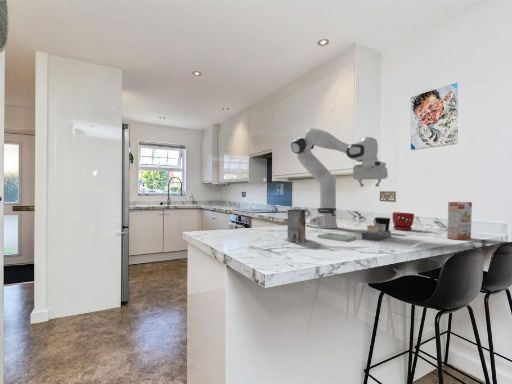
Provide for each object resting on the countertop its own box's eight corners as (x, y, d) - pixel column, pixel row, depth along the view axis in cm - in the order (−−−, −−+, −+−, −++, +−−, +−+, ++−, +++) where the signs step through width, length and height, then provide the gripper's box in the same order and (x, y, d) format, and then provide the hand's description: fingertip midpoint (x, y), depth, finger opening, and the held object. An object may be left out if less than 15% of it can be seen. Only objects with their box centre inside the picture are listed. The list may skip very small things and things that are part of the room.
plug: (367, 238, 146) (367, 225, 146) (370, 237, 149) (371, 225, 149) (375, 239, 143) (375, 226, 143) (378, 238, 146) (378, 225, 147)
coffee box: (294, 238, 147) (294, 208, 147) (305, 240, 143) (306, 209, 143) (287, 241, 139) (287, 209, 139) (298, 242, 135) (299, 210, 135)
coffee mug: (391, 235, 164) (392, 218, 164) (376, 234, 166) (376, 218, 166) (386, 232, 176) (386, 216, 176) (372, 231, 178) (372, 216, 178)
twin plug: (374, 236, 153) (374, 224, 153) (378, 235, 157) (378, 223, 157) (382, 237, 150) (382, 225, 150) (385, 236, 154) (385, 224, 154)
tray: (318, 238, 148) (318, 234, 148) (329, 236, 157) (329, 232, 157) (345, 242, 137) (345, 238, 137) (356, 239, 145) (356, 236, 145)
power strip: (361, 240, 145) (361, 231, 145) (376, 236, 160) (376, 228, 160) (377, 242, 140) (377, 233, 140) (390, 237, 154) (390, 230, 154)
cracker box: (458, 240, 149) (459, 202, 149) (446, 238, 155) (447, 201, 155) (472, 238, 156) (472, 201, 156) (460, 236, 161) (460, 201, 161)
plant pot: (409, 231, 182) (409, 213, 182) (389, 229, 192) (389, 212, 192) (416, 230, 190) (416, 212, 190) (396, 228, 200) (397, 211, 200)
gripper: (351, 164, 172) (350, 186, 172) (385, 162, 157) (384, 186, 157) (355, 165, 176) (355, 186, 176) (388, 163, 162) (388, 186, 162)
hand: (369, 186), depth 167 cm, fingers open, 8 cm apart
